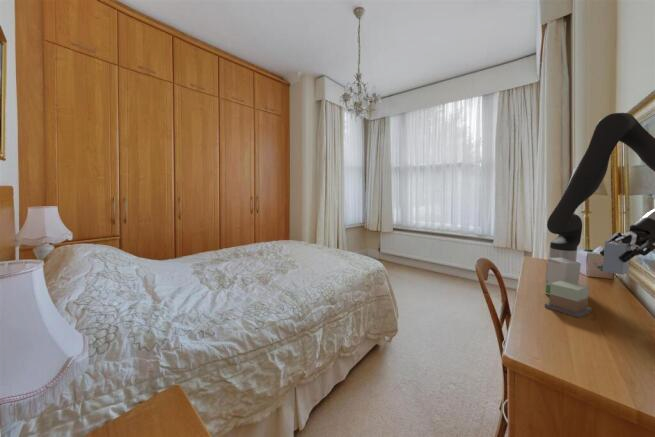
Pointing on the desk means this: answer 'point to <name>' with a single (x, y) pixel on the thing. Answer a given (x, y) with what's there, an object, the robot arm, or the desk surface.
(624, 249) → the slate column brick
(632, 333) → the desk surface
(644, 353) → the desk surface
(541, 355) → the desk surface
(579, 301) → the tower base
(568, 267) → the skincare box
